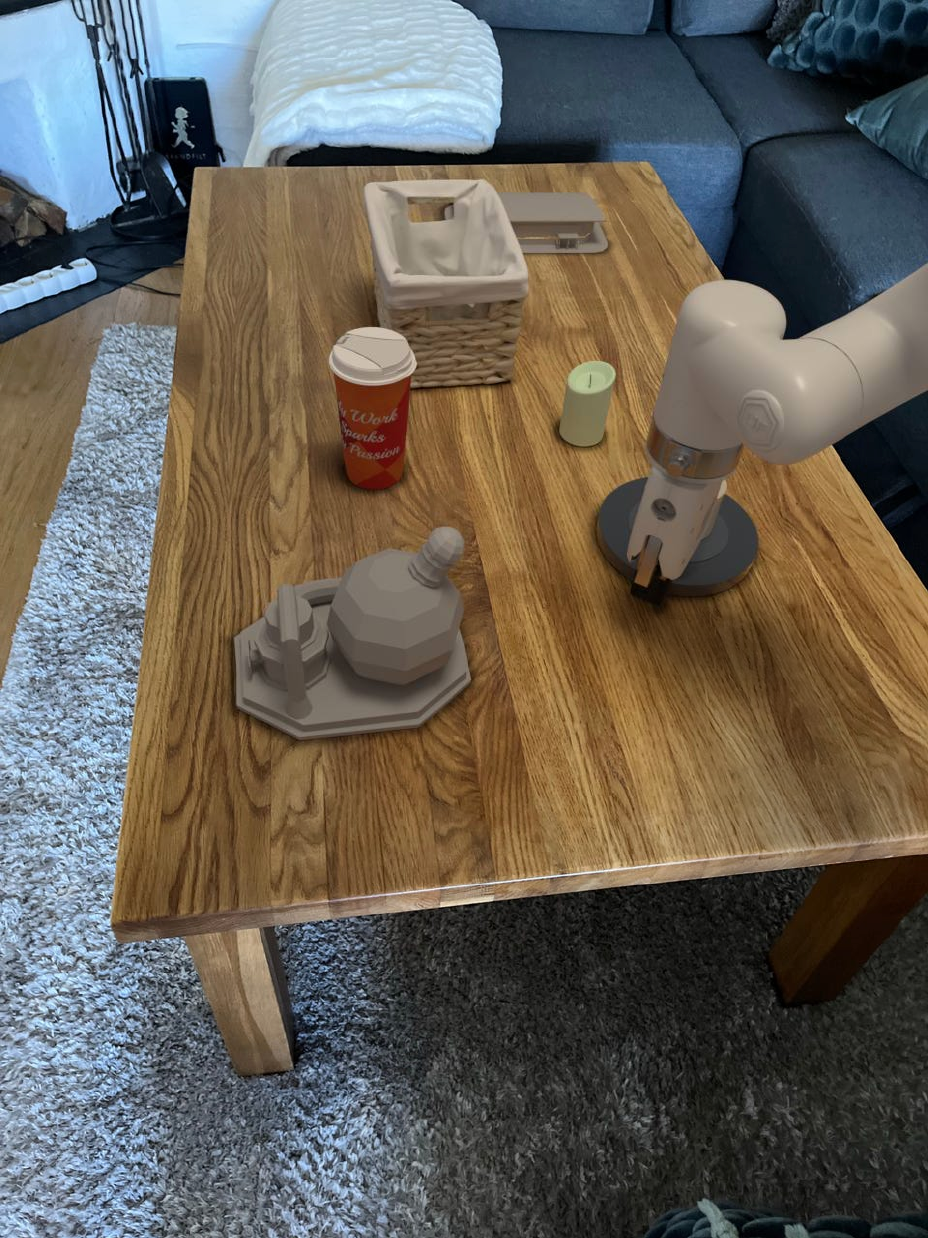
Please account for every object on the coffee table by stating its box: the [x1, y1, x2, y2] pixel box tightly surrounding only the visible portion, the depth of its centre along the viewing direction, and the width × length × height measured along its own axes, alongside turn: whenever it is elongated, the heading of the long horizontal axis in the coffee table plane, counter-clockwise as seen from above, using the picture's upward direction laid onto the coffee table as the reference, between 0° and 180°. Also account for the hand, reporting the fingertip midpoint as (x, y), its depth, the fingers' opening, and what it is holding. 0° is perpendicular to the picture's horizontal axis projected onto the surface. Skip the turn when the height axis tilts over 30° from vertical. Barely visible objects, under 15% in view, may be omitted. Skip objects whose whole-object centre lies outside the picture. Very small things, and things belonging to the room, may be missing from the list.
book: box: [443, 191, 609, 254], centre depth 136 cm, size 15×23×4 cm, turn 97°
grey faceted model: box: [233, 526, 472, 741], centre depth 76 cm, size 20×15×15 cm
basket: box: [363, 178, 530, 389], centre depth 111 cm, size 24×16×15 cm
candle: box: [558, 360, 617, 448], centre depth 102 cm, size 5×5×8 cm
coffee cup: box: [328, 326, 417, 491], centre depth 94 cm, size 8×8×15 cm
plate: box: [595, 476, 759, 598], centre depth 94 cm, size 16×16×2 cm
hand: (647, 595), depth 88 cm, fingers closed
